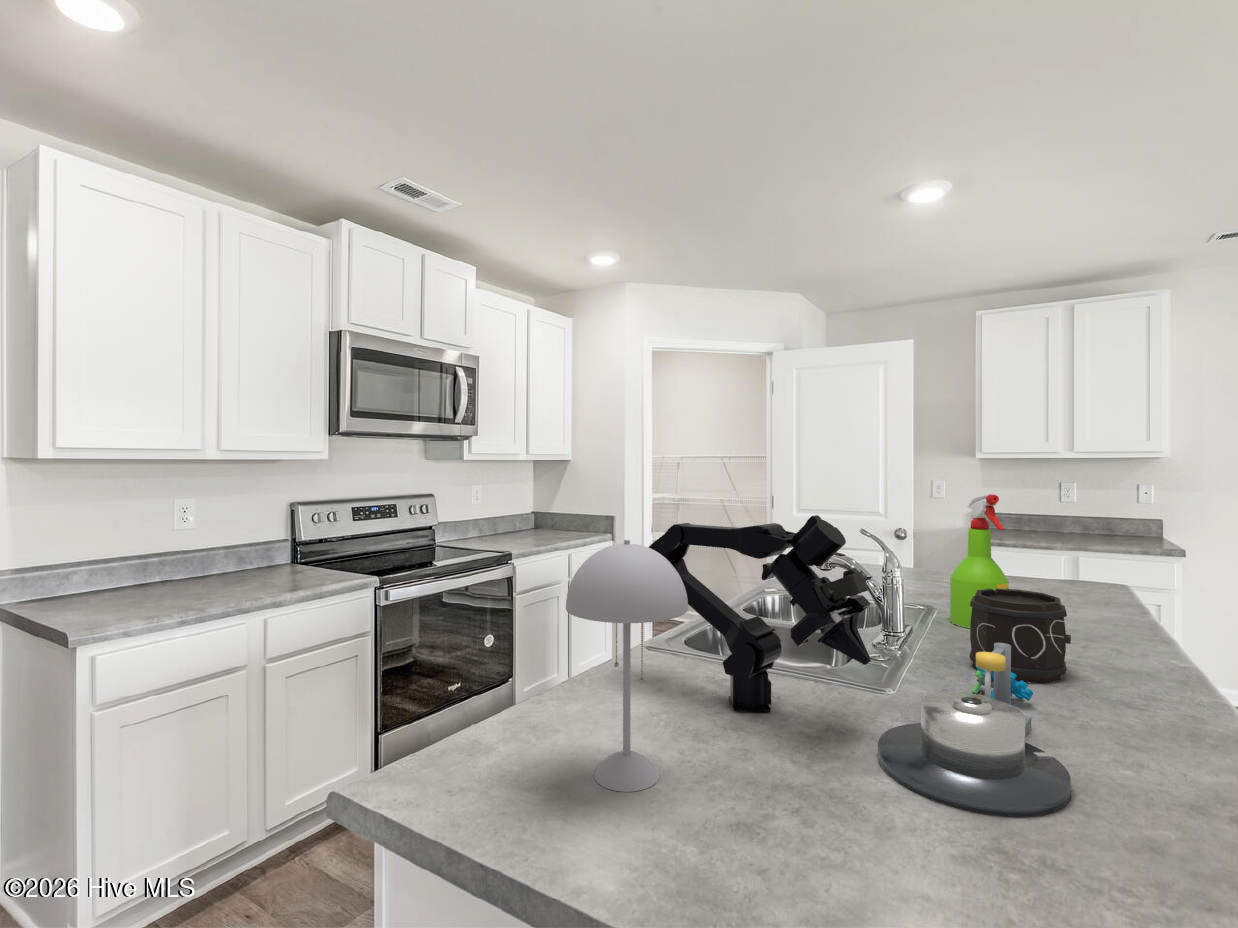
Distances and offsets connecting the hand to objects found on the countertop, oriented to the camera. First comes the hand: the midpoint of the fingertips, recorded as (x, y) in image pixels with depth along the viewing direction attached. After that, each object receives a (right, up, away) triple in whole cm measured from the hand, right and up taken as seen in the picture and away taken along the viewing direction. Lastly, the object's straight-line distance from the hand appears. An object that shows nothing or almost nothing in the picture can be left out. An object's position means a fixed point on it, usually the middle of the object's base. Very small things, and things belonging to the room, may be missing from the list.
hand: (868, 662), depth 104 cm
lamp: (-38, -13, -11) cm, 42 cm away
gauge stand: (+22, -12, +2) cm, 25 cm away
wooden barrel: (+44, -12, +34) cm, 57 cm away
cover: (+11, -10, -10) cm, 18 cm away
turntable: (+11, -12, -10) cm, 19 cm away
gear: (+31, -12, +18) cm, 38 cm away
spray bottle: (+57, -12, +70) cm, 91 cm away
